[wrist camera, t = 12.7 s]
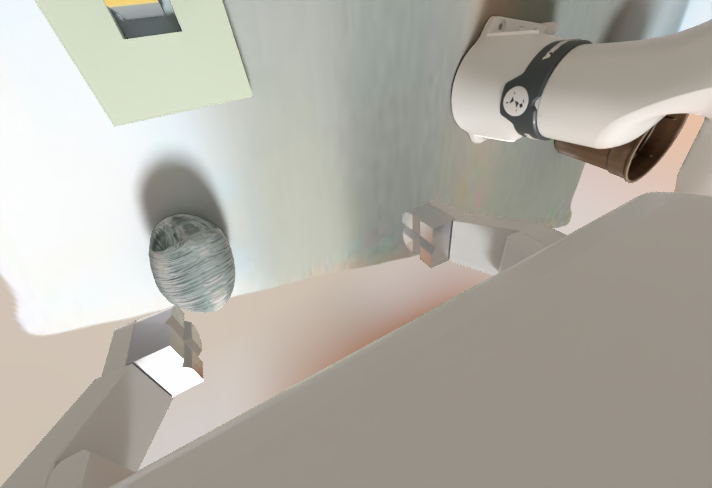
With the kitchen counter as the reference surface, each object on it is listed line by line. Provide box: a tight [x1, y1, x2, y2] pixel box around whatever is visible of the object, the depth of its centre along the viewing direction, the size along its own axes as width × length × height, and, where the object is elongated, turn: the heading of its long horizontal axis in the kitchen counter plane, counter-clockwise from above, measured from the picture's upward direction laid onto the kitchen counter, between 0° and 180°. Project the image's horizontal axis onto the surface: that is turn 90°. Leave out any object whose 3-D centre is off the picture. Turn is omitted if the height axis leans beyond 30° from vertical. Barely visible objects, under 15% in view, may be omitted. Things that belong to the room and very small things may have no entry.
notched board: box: [35, 0, 253, 127], centre depth 27 cm, size 14×12×2 cm
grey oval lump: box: [149, 214, 235, 312], centre depth 36 cm, size 14×10×10 cm
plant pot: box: [555, 113, 689, 183], centre depth 59 cm, size 16×16×16 cm
